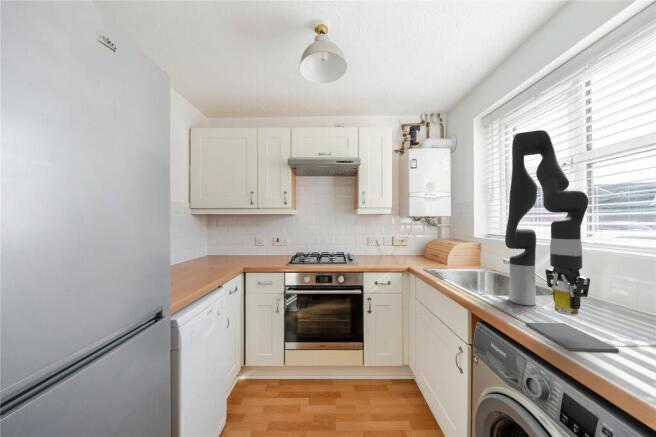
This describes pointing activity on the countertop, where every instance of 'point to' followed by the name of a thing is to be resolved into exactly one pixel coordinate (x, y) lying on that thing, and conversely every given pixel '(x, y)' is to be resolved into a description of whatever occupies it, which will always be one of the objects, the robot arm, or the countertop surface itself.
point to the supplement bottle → (563, 300)
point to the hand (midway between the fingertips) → (566, 305)
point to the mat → (571, 337)
